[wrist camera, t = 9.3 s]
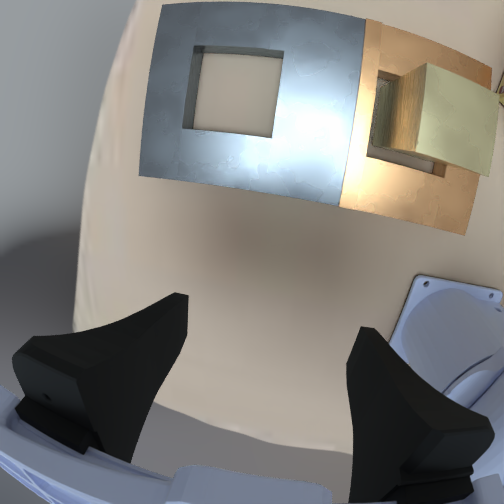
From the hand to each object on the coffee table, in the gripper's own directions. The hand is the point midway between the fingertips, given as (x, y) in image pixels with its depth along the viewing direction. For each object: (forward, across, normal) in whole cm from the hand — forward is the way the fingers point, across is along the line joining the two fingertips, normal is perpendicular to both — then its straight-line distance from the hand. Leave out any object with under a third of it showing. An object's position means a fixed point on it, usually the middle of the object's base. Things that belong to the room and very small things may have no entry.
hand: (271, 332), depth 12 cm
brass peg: (+10, -6, -10) cm, 16 cm away
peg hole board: (+10, -1, -10) cm, 14 cm away
